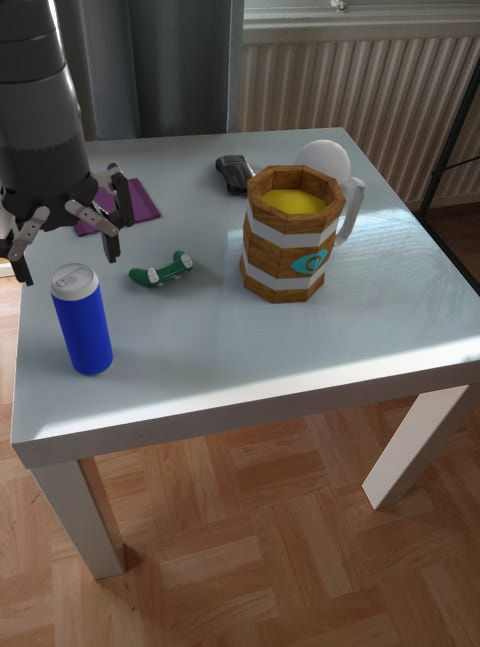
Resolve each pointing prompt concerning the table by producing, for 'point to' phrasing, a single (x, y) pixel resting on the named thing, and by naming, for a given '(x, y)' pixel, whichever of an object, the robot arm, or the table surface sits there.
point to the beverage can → (82, 317)
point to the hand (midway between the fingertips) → (70, 269)
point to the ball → (325, 159)
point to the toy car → (235, 172)
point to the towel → (140, 203)
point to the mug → (293, 230)
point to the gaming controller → (162, 271)
